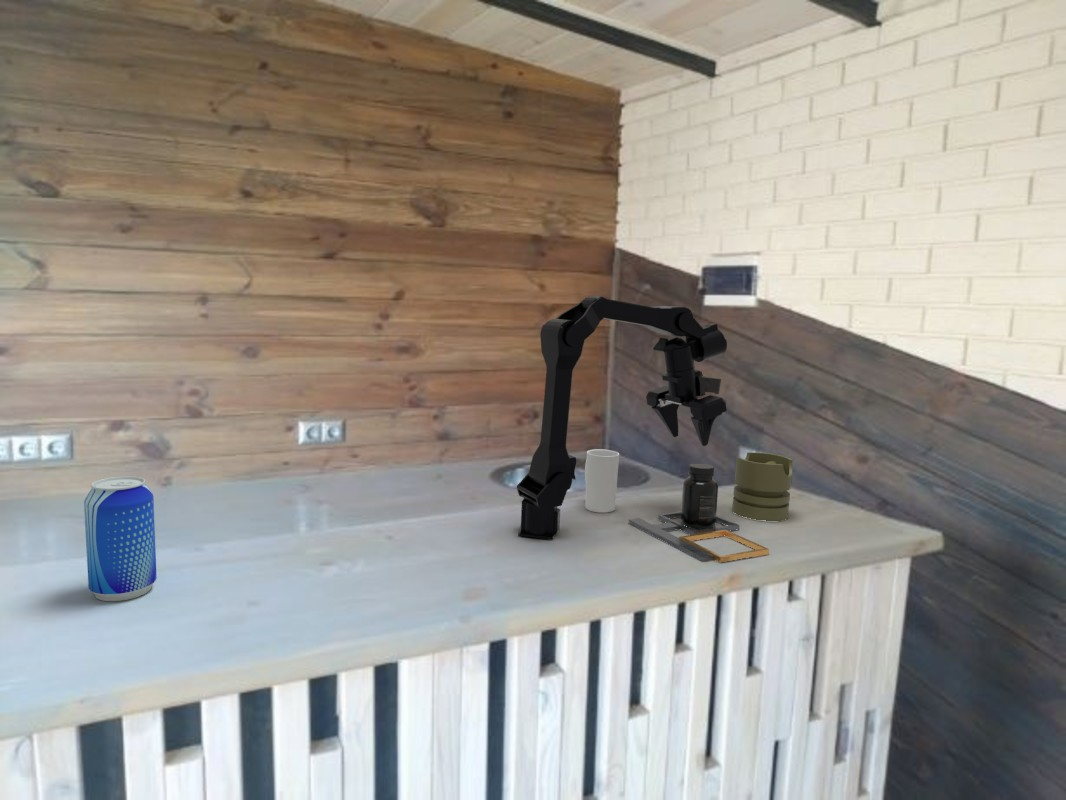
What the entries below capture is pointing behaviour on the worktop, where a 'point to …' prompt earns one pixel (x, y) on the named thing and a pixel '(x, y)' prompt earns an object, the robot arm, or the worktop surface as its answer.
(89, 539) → the beer can
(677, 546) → the silver gold metal frame
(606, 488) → the mug
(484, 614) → the worktop surface
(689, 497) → the supplement bottle
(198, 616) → the worktop surface
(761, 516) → the piston
